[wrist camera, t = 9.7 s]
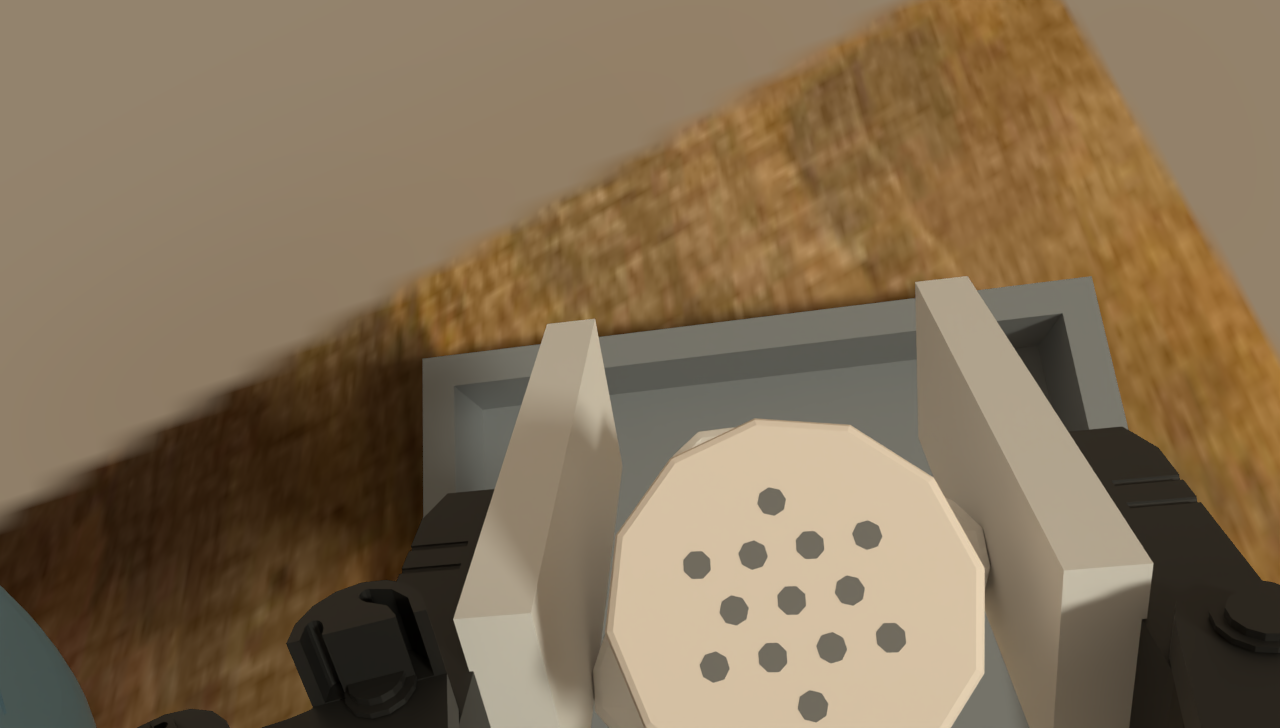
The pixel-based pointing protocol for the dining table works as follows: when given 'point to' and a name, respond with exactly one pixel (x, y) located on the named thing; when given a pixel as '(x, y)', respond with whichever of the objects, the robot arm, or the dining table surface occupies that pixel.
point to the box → (774, 400)
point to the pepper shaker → (792, 589)
